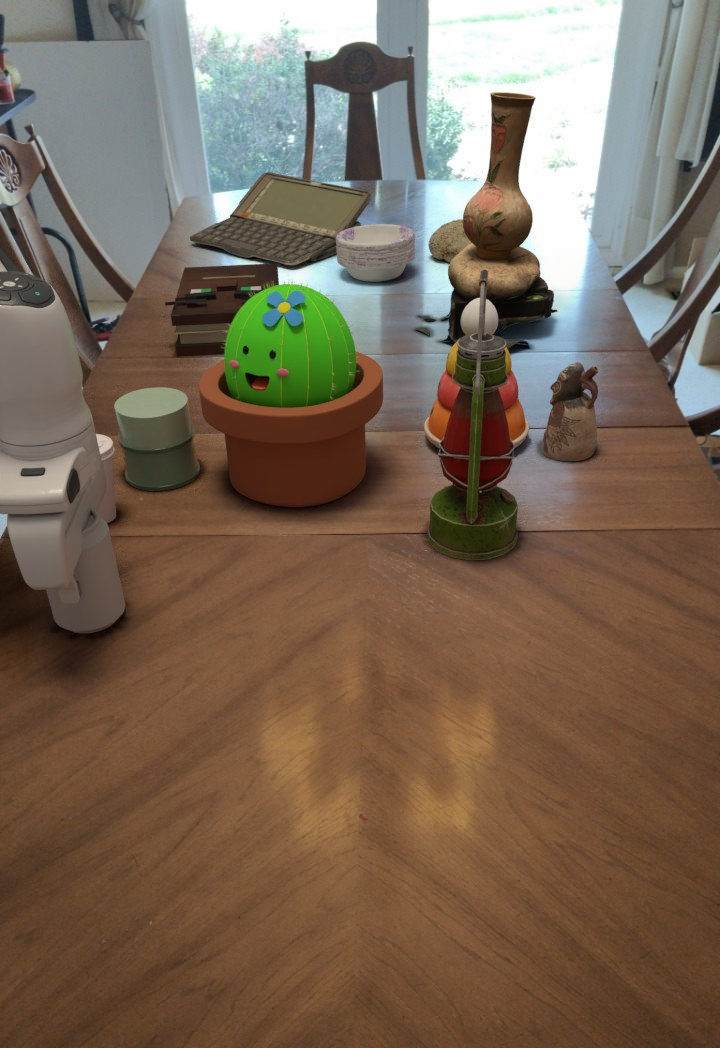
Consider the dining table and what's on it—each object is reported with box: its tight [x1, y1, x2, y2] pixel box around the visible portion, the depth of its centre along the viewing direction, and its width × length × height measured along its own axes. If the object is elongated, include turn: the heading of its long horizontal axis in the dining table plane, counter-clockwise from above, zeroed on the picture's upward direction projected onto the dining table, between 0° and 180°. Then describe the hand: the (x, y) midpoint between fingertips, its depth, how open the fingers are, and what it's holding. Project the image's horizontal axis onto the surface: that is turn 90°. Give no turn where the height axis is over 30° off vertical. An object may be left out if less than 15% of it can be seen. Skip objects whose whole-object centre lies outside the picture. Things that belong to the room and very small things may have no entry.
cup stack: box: [113, 386, 201, 492], centre depth 127 cm, size 10×10×10 cm
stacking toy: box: [423, 298, 530, 449], centre depth 129 cm, size 14×14×20 cm
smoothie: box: [96, 433, 117, 524], centre depth 117 cm, size 6×6×14 cm
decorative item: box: [428, 218, 472, 263], centre depth 198 cm, size 12×9×10 cm
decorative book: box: [164, 262, 280, 357], centre depth 170 cm, size 19×8×30 cm
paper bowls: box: [336, 223, 416, 283], centre depth 190 cm, size 15×15×8 cm
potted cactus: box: [198, 278, 384, 508], centre depth 120 cm, size 22×22×25 cm
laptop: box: [189, 171, 372, 266], centre depth 209 cm, size 26×32×10 cm
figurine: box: [541, 361, 599, 462], centre depth 128 cm, size 7×7×12 cm
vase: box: [415, 91, 558, 350], centre depth 158 cm, size 24×22×35 cm
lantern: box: [426, 270, 519, 561], centre depth 106 cm, size 14×11×30 cm
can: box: [45, 508, 127, 634], centre depth 101 cm, size 8×8×12 cm
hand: (81, 575), depth 101 cm, fingers closed on can, 7 cm apart
